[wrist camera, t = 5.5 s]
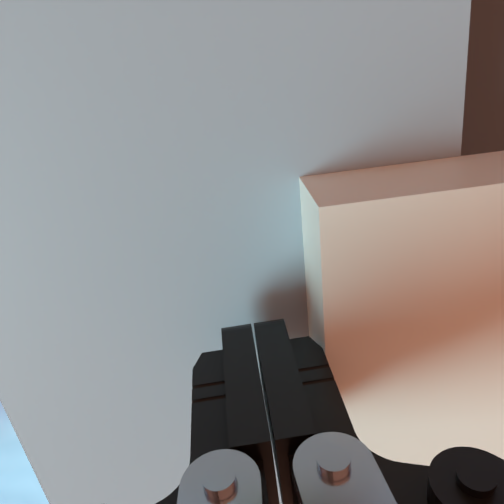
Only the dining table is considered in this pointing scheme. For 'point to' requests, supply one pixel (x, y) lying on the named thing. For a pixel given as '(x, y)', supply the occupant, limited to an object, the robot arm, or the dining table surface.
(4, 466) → the dining table surface
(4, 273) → the grey box
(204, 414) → the robot arm
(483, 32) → the mat
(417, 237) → the cream rectangular block
